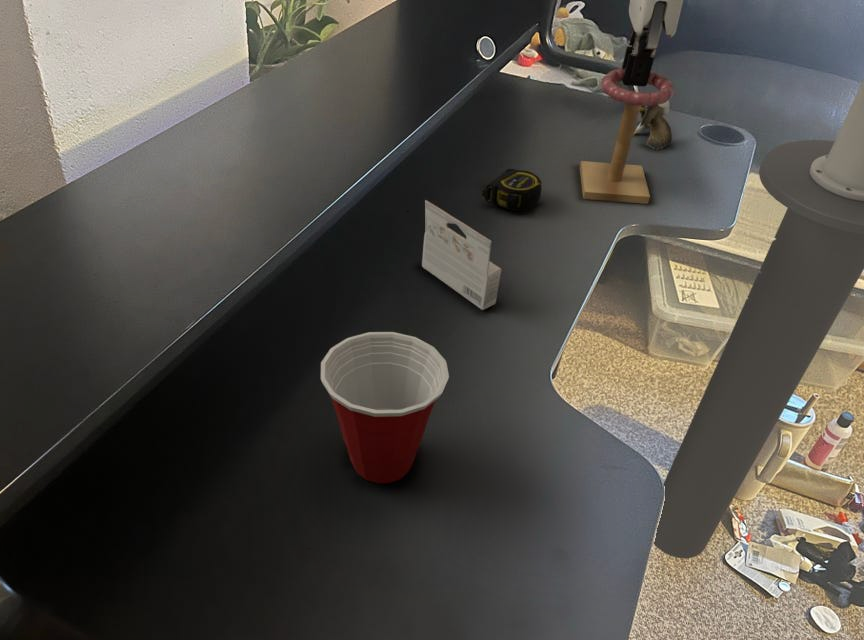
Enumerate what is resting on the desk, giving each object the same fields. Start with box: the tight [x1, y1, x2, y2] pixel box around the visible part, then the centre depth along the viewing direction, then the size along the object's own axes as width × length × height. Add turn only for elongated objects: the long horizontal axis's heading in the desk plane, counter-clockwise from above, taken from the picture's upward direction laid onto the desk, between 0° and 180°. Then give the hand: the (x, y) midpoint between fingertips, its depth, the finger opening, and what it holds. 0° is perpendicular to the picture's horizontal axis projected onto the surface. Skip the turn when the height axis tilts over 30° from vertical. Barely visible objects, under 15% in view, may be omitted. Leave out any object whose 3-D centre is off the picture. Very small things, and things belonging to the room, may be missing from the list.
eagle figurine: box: [633, 99, 673, 151], centre depth 117 cm, size 8×7×9 cm
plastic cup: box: [320, 331, 450, 484], centre depth 66 cm, size 11×11×12 cm
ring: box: [600, 68, 675, 107], centre depth 97 cm, size 9×9×2 cm
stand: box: [579, 103, 651, 205], centre depth 103 cm, size 9×9×13 cm
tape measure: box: [481, 168, 543, 211], centre depth 102 cm, size 7×7×4 cm
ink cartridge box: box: [421, 199, 502, 311], centre depth 86 cm, size 2×11×10 cm, turn 39°
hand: (633, 80), depth 100 cm, fingers closed on ring, 2 cm apart
